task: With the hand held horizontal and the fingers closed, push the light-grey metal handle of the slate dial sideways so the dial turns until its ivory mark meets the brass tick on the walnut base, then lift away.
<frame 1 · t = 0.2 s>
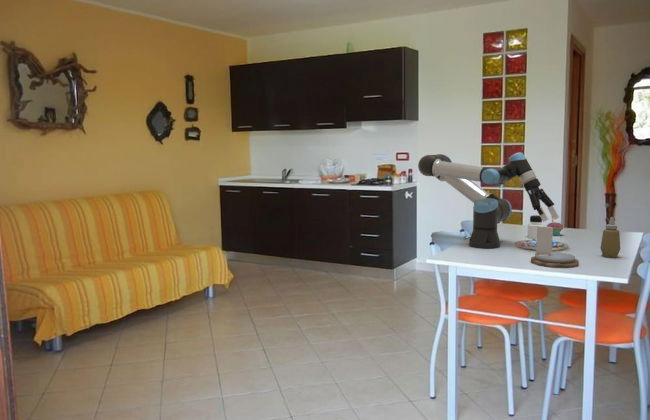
hand: (551, 219, 268), 14 cm above the table, tool tilted 35°, fingers open, 13 cm apart
medicine bottle: (535, 237, 303), on the table
cupcake: (554, 235, 310), on the table
squeeze bottle: (609, 256, 252), on the table
dial: (555, 243, 238), point 9 cm above the table, hinge at 0.0°
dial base: (554, 263, 239), on the table
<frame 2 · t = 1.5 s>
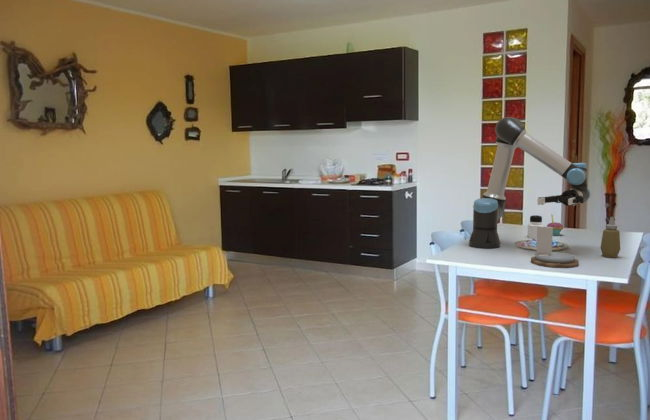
hand: (553, 202, 247), 25 cm above the table, tool horizontal, fingers open, 13 cm apart
nothing on the table moved.
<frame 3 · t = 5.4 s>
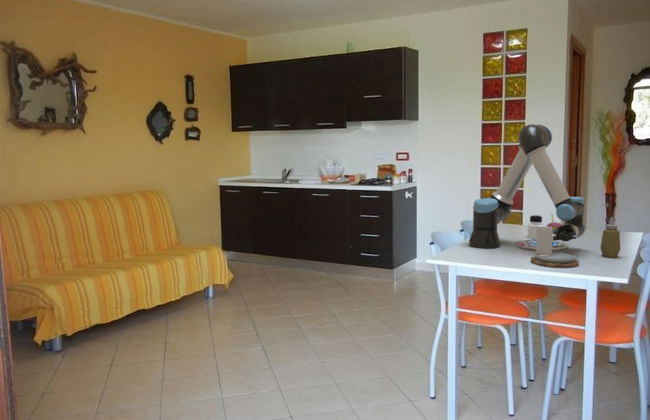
hand: (548, 239, 240), 10 cm above the table, tool horizontal, fingers closed
dial: (555, 243, 238), point 9 cm above the table, hinge at 5.5°, touching gripper
everything else where it was.
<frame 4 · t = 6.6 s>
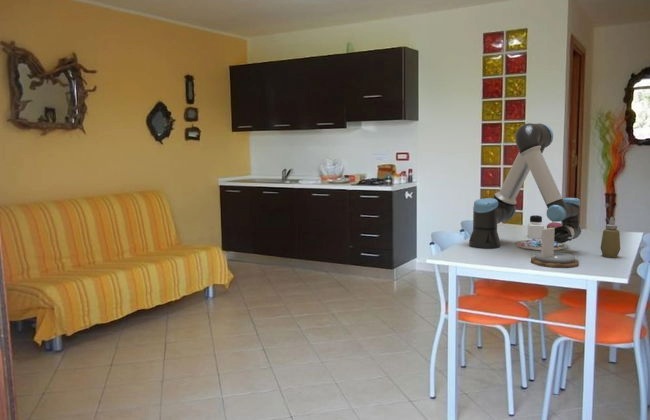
hand: (543, 241, 237), 10 cm above the table, tool horizontal, fingers closed
dial: (555, 243, 238), point 9 cm above the table, hinge at 70.2°
everything else where it was.
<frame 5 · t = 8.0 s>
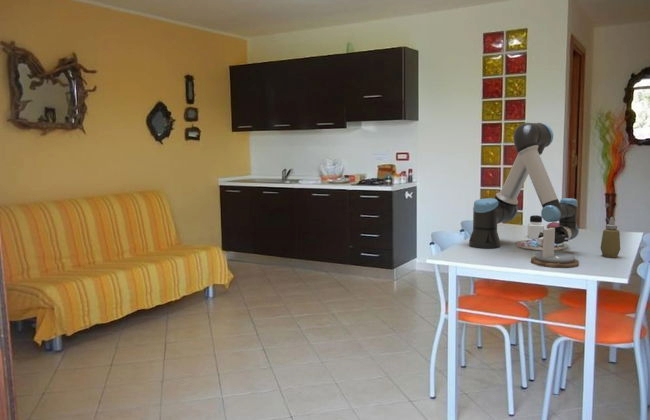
hand: (539, 241, 235), 10 cm above the table, tool horizontal, fingers closed
dial: (555, 243, 238), point 9 cm above the table, hinge at 75.8°, touching gripper
everything else where it was.
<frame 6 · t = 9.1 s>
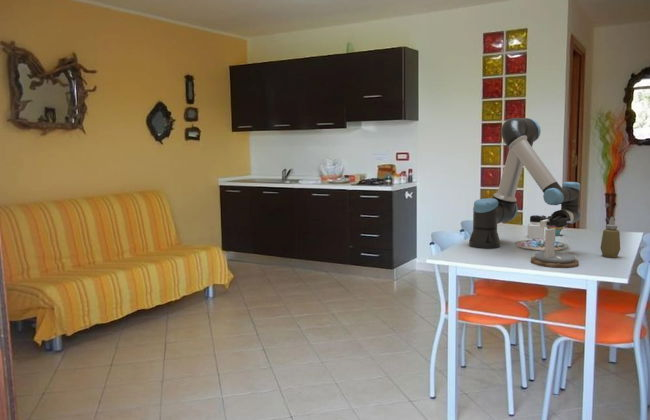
hand: (541, 224, 234), 17 cm above the table, tool horizontal, fingers closed
dial: (555, 243, 238), point 9 cm above the table, hinge at 83.3°
everything else where it was.
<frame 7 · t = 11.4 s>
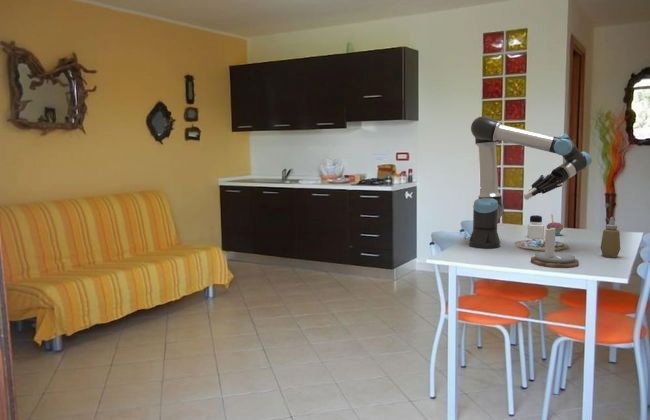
hand: (525, 197, 261), 26 cm above the table, tool tilted 65°, fingers closed
nothing on the table moved.
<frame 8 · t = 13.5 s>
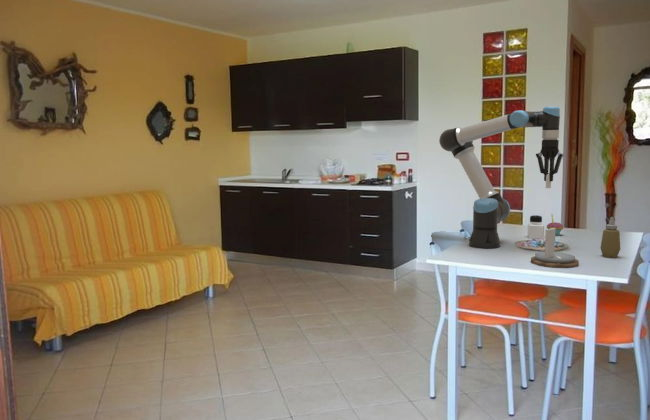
hand: (548, 188, 271), 29 cm above the table, tool pointing down, fingers closed
nothing on the table moved.
at the end: dial at +83° (first picture: +0°); dial touching nothing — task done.
